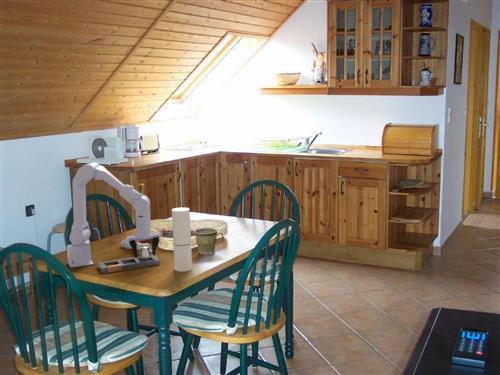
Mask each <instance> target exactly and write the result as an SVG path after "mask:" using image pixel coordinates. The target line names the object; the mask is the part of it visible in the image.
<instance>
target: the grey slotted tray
mask: <svg viewBox="0 0 500 375" xmlns="http://www.w3.org/2000/svg"><path fill="white" fill-rule="evenodd" d="M160 264H161V263H160V259H159V258H158V257H157V256H156V255H155V256H153V255H150V260H148V261H141V262H140V256H137V258H135V256H133V257H129V258H122V259H116V260H115V259H114V260H108V261H101V262H97V268H98V270H99V271H100V272H101V274H107V273H113V272H120V271H121V272H122V271H126V270H132V269H138V268H146V267H153V266H154V267H155V266H160Z"/></svg>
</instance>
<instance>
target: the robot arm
mask: <svg viewBox="0 0 500 375" xmlns="http://www.w3.org/2000/svg"><path fill="white" fill-rule="evenodd" d="M92 179H94V180H95V181H97V180H99V181H101V180H102V181H104V182H105V183H107V184H109V186H111V187H113V188H114V189H116V190H117V191H118V193H119V196H120V197H121V198H123V199H124V200H125V201H126V202H128V203H129V204H130V205H132V206H133V209H134V211H135V210H136V211H135V225H136V228H135V229H136V234H134V235H130V236H126V237H125V238H126V241H127V242H129V244H130V245H131V247H132V249H131V250H132V252H133V257H135V258H137V257H138V250H137V243H136V242H137V241H138V240H145V239H151V240H150V242H151V250H152V255H153V256H156V253H157V252H156V251H157V248H158V245H159V243H160V239H162V233H161V232H151V233H150V224H151V217H150V216H149V208H148V207H149V205H150V206H151V200H150V198H149V197H148V196H147V195H146V194H145V195H143V194H142V193H139V191H137V190H136V189H135V188H134V186H133V185H130V184H124V183H123V182H121V181H120V180H119V179H118V178H117V177H116V176H114V175H113V174H112V173H111V172H110V171H108V169H107V168H105V166H103V165H101V164H100V163H99V162H97V161H90V162H89V163H87V164H84V165H82V166H81V167H79V168H78V169H77V172H76V174H75V175H74V177H73V179H72V207H73V208H72V210H73V223H72V224H71V225H72V226H71V232H70V234H69V242H71V244H68V245H67V246H66V253H67V263H68V265H69V267H70V268H77V267H84V266H85V267H87V266H92V265H94V261H92V255H91V254H92V253H91V245H90V244H91V243H90V237H91V235H92V231H91V229H90V226H89V222H88V221H87V195H86V194H87V192H86V190H87V189H86V188H87V187H86V185H87V184H88V182H90V181H91V180H92ZM138 242H139V241H138Z"/></svg>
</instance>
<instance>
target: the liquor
mask: <svg viewBox="0 0 500 375" xmlns="http://www.w3.org/2000/svg"><path fill="white" fill-rule="evenodd" d="M145 189H146V188H145V184H144V183H138V190H139V191H138V192H139V193H142V194H143V195H145V196H146V194H145ZM148 208H149V216H150V218H151V212H152V211H151V204H150V205H149V207H148ZM134 211H135V212H136V210H135V209H134ZM151 224H152V223H150V233H152V230H151V229H152V227H151ZM150 242H151V239H145V240H138V243H142V244H145V243H150Z"/></svg>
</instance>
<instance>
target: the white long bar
mask: <svg viewBox="0 0 500 375" xmlns="http://www.w3.org/2000/svg"><path fill="white" fill-rule="evenodd" d="M135 242H136V243H137V251H140V247H143V246H148V247H149V253H150V255H152V249H151V245H150V242H148V243H140V242H139V241H138V242H137V241H135ZM119 244H120V246H119V247H121V248H124V249H125V250H129V249H130V250H132V247H131V245H130V244H129V242H127V241H126V239H122V240H121V241H119Z"/></svg>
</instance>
